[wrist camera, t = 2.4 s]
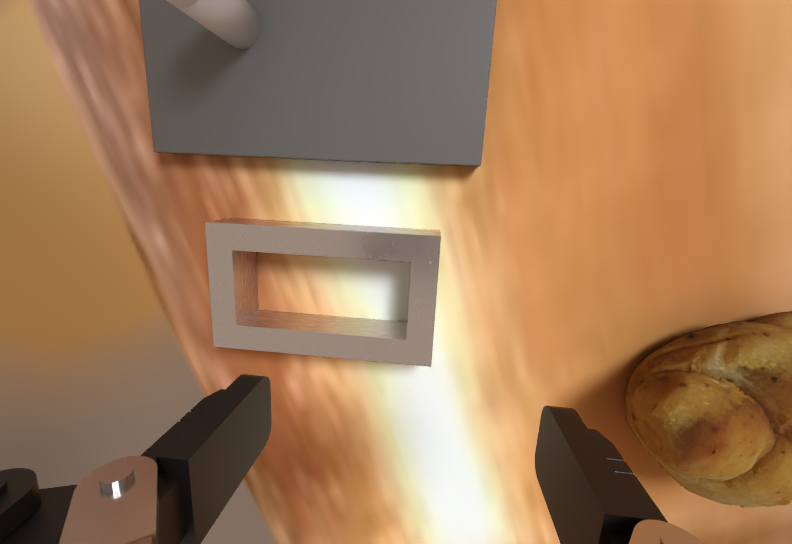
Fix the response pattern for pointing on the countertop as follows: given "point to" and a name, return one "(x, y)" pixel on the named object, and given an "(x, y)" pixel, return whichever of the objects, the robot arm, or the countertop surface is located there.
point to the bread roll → (721, 410)
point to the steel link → (307, 332)
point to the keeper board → (320, 78)
